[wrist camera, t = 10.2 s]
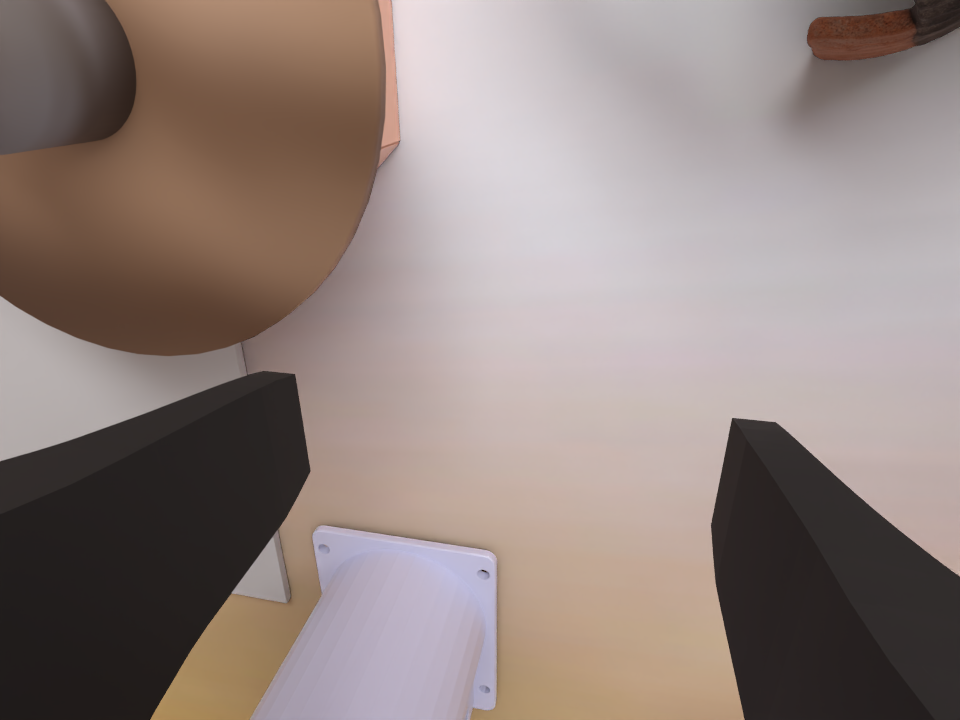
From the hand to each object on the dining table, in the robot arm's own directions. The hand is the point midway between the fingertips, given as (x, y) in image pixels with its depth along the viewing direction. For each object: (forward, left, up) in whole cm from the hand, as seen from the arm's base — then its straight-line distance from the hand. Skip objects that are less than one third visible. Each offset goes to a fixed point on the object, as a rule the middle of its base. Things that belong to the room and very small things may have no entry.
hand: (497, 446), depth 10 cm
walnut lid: (+6, +11, -5) cm, 14 cm away
